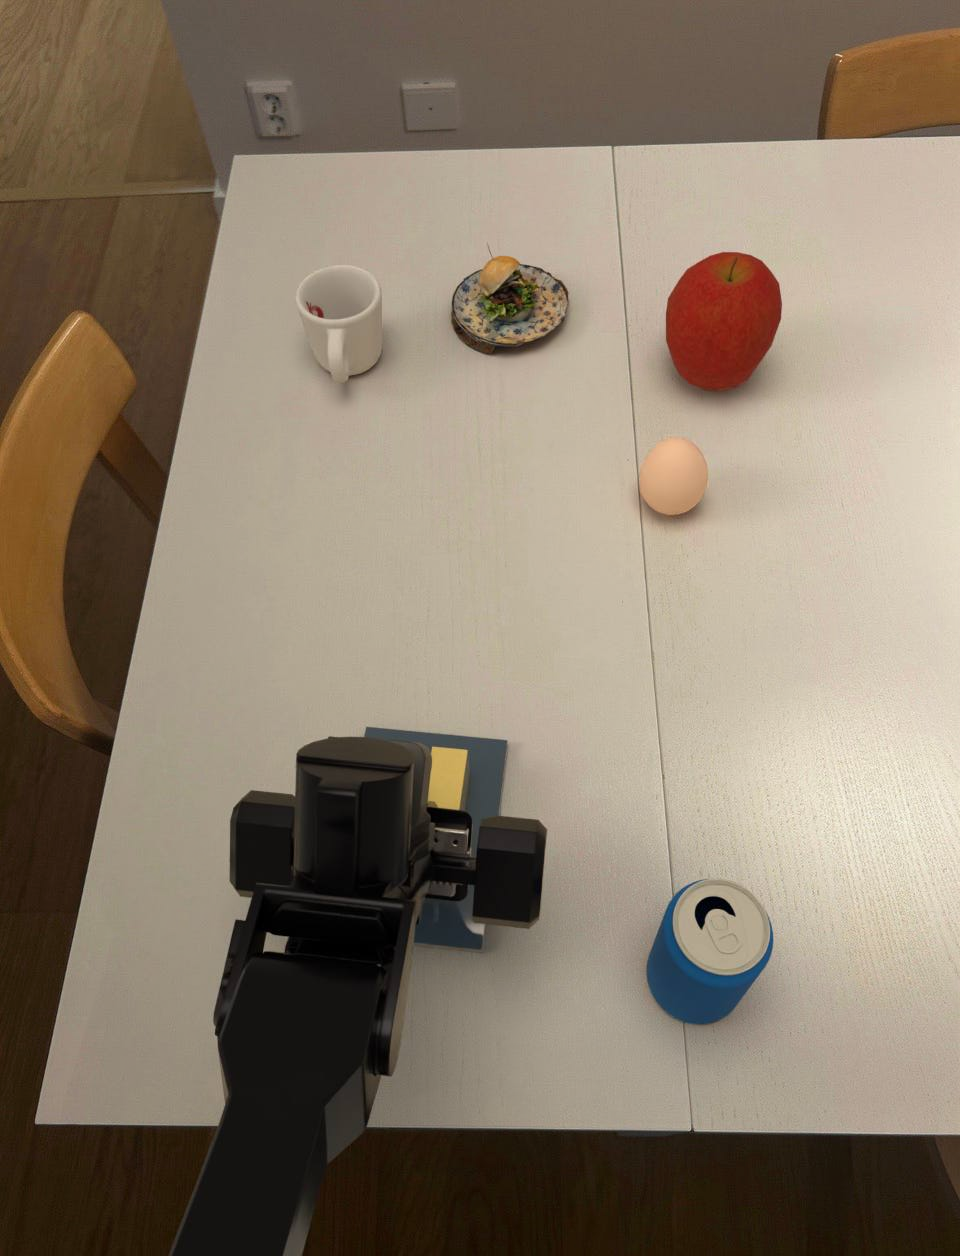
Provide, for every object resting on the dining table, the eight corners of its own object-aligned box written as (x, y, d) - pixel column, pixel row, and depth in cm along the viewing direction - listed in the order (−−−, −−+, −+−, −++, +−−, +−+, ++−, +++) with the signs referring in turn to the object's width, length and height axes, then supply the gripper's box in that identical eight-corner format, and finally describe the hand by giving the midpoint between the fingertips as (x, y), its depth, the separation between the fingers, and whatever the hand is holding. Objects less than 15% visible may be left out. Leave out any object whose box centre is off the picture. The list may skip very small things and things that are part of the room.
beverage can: (714, 915, 74) (744, 856, 64) (759, 1005, 71) (798, 957, 61) (629, 949, 73) (646, 894, 63) (671, 1042, 70) (696, 999, 60)
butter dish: (482, 953, 73) (480, 933, 69) (326, 935, 74) (315, 914, 70) (507, 744, 82) (506, 715, 78) (367, 731, 83) (359, 701, 79)
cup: (386, 407, 101) (376, 343, 94) (302, 408, 101) (286, 345, 94) (392, 328, 106) (383, 262, 100) (313, 329, 107) (299, 264, 100)
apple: (740, 329, 105) (767, 207, 93) (783, 400, 100) (817, 280, 88) (641, 352, 104) (656, 231, 92) (679, 425, 98) (700, 307, 87)
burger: (488, 374, 103) (486, 313, 96) (429, 303, 108) (424, 242, 102) (592, 327, 106) (597, 266, 99) (529, 261, 111) (530, 198, 105)
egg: (646, 472, 95) (655, 412, 89) (708, 488, 94) (722, 429, 88) (627, 520, 93) (635, 462, 86) (692, 537, 91) (704, 480, 85)
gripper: (547, 793, 54) (559, 704, 69) (191, 757, 56) (279, 678, 71) (531, 990, 56) (546, 862, 71) (191, 950, 58) (276, 833, 73)
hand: (411, 805), depth 72 cm, fingers closed on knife, 2 cm apart
